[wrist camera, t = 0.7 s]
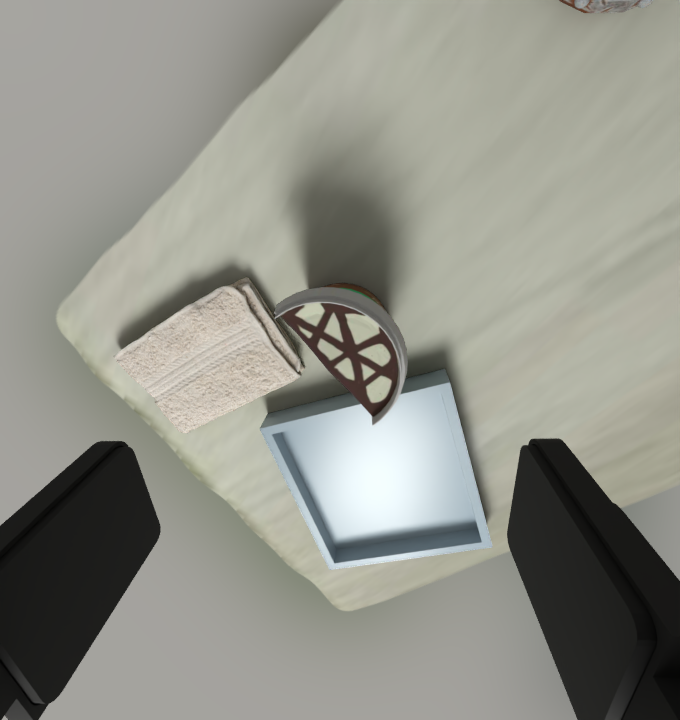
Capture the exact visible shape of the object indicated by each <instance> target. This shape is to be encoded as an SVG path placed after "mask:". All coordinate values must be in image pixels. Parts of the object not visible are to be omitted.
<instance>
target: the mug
mask: <svg viewBox="0 0 680 720" xmlns="http://www.w3.org/2000/svg"><path fill="white" fill-rule="evenodd" d="M652 1H653V0H560V2H562V3H565V4H567V5H569V6H571V7H573V8H575V9H577V10H579V11H581V12H583V13H610V12H624V11H627V10H629V9H632V8H634V7H636V6H639V7H641V8H643V7H646V6H648V5H649V4H651V3H652Z"/></svg>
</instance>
